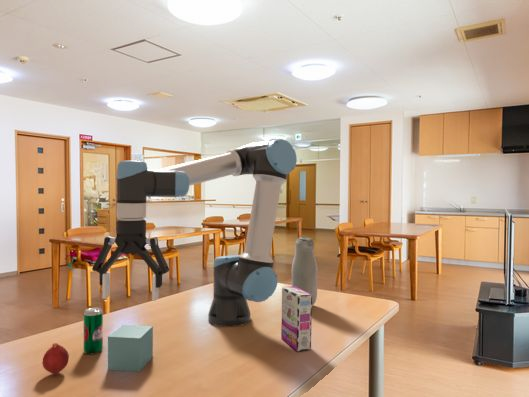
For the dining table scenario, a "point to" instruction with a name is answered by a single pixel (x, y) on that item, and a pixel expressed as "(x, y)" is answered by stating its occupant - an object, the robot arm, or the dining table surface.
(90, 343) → the soda can
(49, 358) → the pomegranate
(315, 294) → the grey bottle
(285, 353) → the dining table surface
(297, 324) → the candy bar box
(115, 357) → the seafoam cube
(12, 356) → the dining table surface
